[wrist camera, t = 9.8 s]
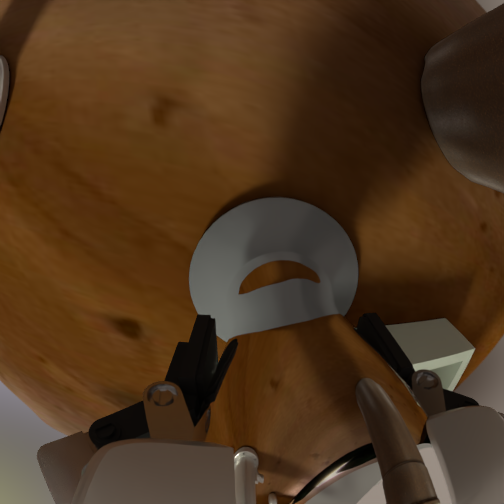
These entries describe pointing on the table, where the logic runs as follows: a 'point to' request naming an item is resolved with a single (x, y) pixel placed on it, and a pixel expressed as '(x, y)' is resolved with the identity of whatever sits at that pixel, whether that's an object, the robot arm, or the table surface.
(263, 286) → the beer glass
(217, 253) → the grey round coaster
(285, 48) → the table surface
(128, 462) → the robot arm
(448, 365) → the frame
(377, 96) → the table surface
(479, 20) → the plant pot
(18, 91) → the table surface
